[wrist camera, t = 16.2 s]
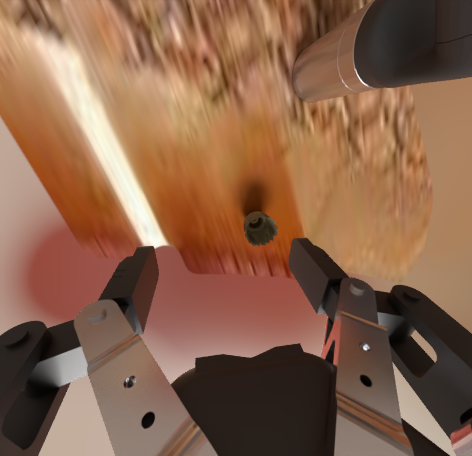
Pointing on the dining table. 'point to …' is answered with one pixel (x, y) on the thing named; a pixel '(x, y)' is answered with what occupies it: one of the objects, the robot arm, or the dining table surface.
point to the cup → (259, 228)
